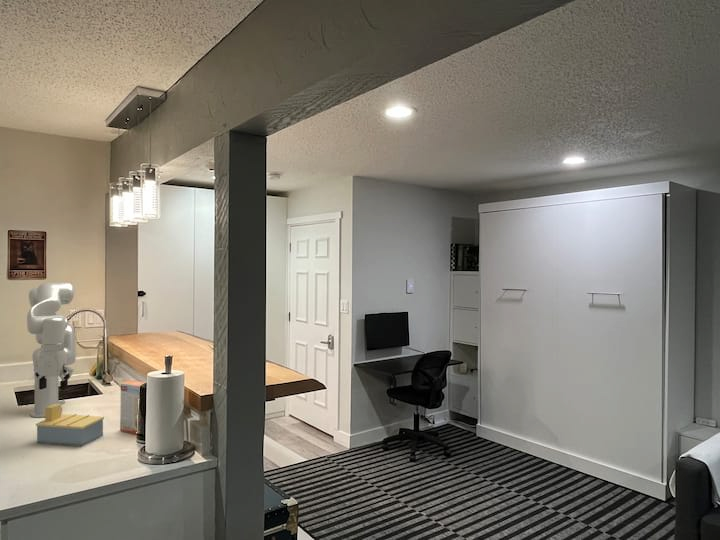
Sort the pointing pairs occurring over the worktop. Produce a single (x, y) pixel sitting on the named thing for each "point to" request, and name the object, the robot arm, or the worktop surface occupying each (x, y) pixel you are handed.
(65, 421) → the lid
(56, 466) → the worktop surface
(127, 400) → the cracker box
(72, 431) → the tub
